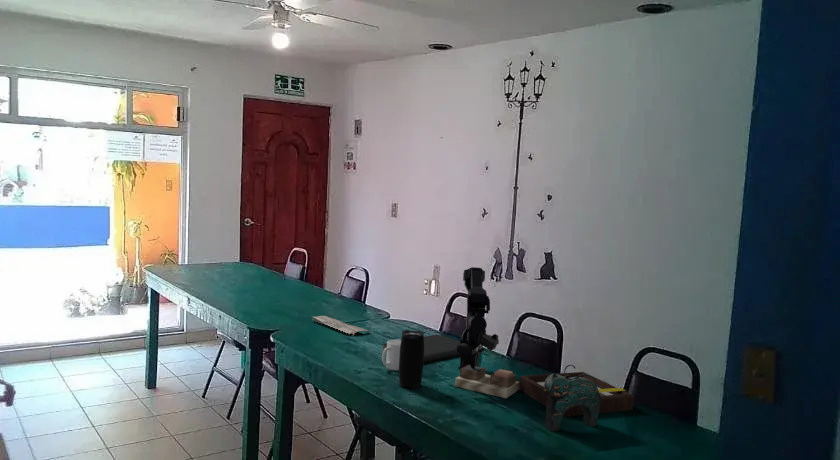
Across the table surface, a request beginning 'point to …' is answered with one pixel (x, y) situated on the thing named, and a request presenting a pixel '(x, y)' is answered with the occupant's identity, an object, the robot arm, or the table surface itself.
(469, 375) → the key console
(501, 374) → the terracotta key
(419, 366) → the portable speaker
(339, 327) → the beige notched slab
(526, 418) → the table surface
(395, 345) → the cup
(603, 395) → the brown wooden tray
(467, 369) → the charcoal key
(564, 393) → the ceramic cat
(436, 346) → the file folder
